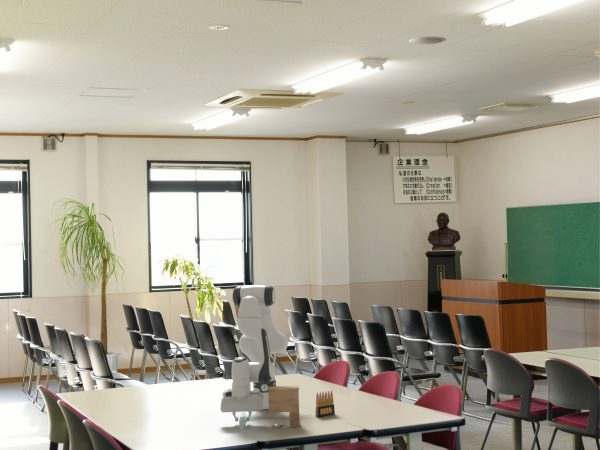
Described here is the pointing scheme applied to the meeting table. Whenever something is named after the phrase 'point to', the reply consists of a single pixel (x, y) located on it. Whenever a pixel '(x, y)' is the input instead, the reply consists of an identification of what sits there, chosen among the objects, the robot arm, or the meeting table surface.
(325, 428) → the meeting table surface
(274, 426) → the token
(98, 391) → the meeting table surface
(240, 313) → the robot arm
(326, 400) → the ammunition clip
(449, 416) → the meeting table surface
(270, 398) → the wooden l-shaped block
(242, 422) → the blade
